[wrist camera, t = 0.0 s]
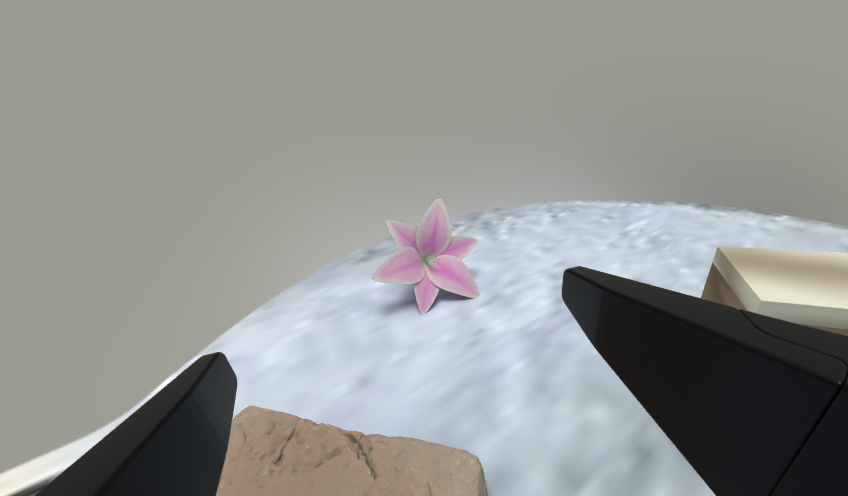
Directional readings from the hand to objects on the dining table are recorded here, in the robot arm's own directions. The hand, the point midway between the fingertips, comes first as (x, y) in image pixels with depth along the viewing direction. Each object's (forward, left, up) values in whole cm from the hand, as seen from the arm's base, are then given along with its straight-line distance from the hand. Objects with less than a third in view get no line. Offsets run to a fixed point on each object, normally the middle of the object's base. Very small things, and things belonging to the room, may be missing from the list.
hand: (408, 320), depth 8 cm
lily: (+25, -5, -17) cm, 30 cm away
